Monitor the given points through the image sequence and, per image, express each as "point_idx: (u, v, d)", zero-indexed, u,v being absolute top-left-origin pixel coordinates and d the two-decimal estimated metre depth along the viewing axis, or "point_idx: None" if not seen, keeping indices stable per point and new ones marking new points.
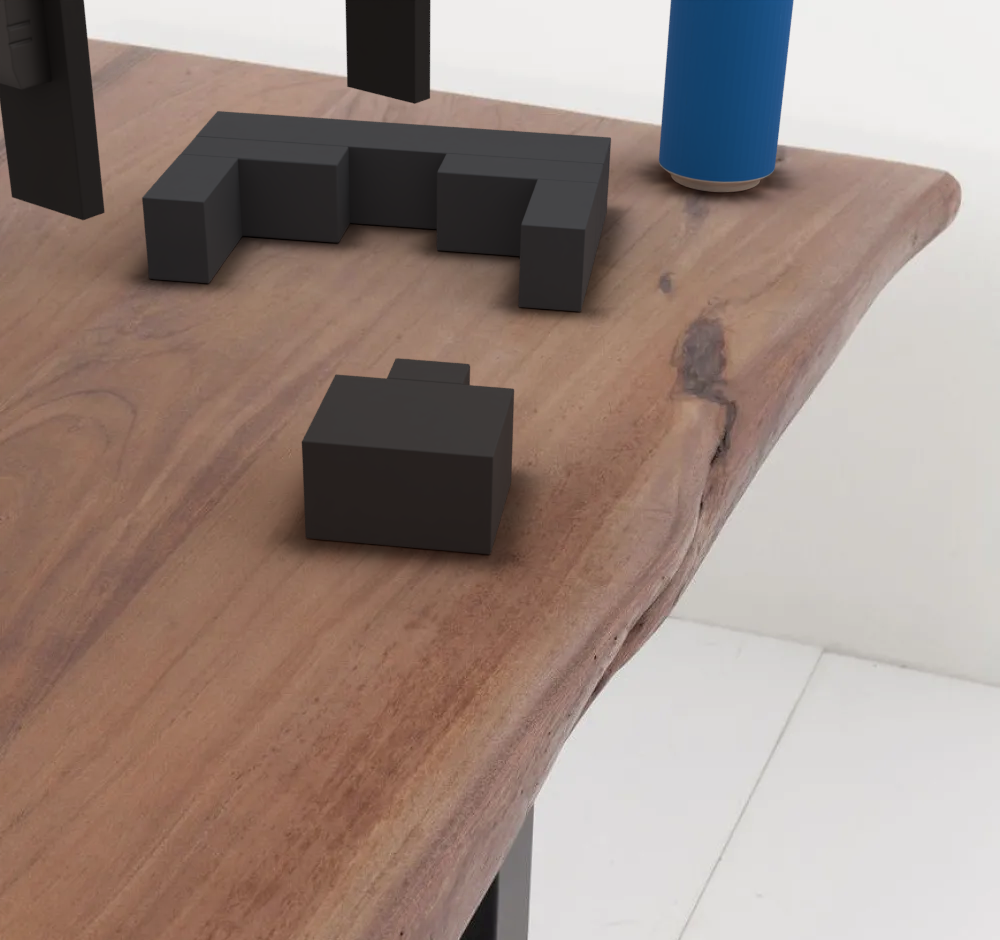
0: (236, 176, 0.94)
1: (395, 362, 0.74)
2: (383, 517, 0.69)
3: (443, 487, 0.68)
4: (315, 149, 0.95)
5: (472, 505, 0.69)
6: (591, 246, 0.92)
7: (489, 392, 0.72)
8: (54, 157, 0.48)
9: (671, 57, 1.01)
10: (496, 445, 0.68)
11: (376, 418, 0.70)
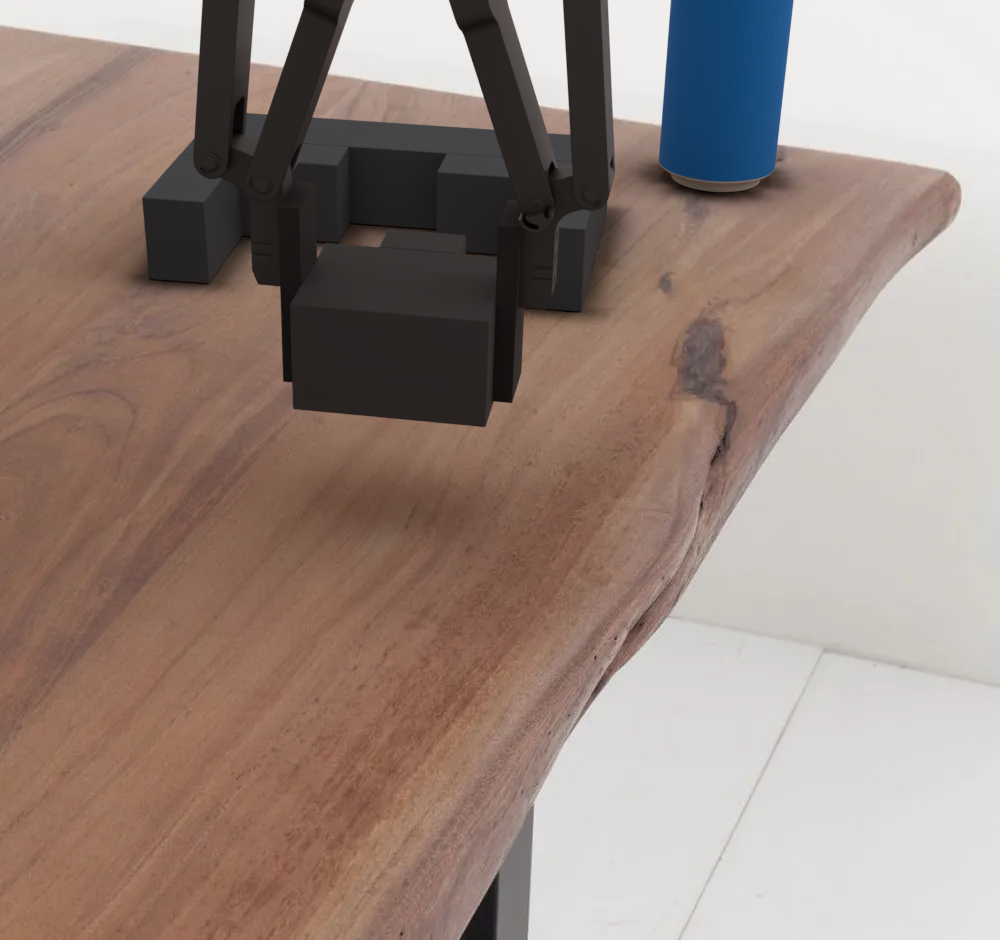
0: None
1: (388, 232, 0.71)
2: (374, 386, 0.67)
3: (437, 355, 0.66)
4: (315, 149, 0.95)
5: (466, 374, 0.66)
6: (591, 246, 0.92)
7: (485, 262, 0.69)
8: None
9: (671, 57, 1.01)
10: (492, 311, 0.65)
11: (367, 284, 0.67)
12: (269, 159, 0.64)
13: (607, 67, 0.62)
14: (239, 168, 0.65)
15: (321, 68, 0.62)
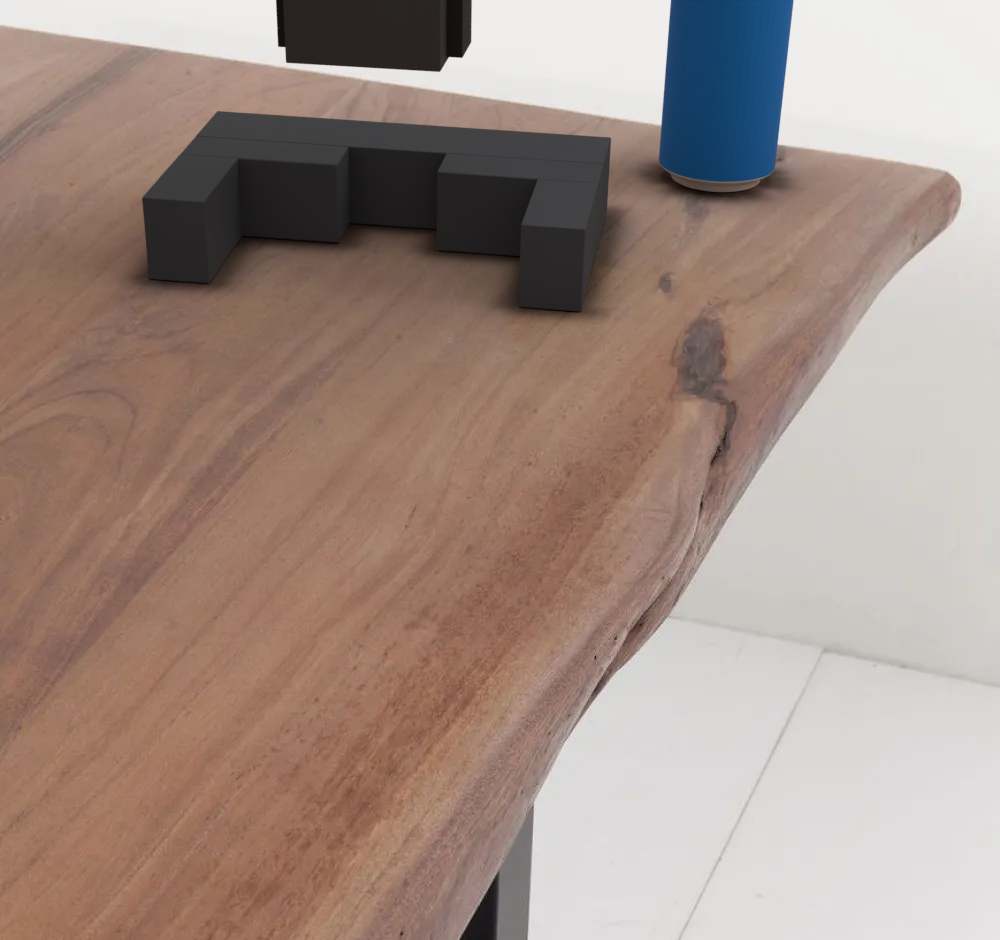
0: (236, 176, 0.94)
1: None
2: (350, 39, 0.83)
3: (399, 8, 0.82)
4: (315, 149, 0.95)
5: (423, 24, 0.82)
6: (591, 246, 0.92)
7: None
8: None
9: (671, 57, 1.01)
10: None
11: None
12: None
13: None
14: None
15: None
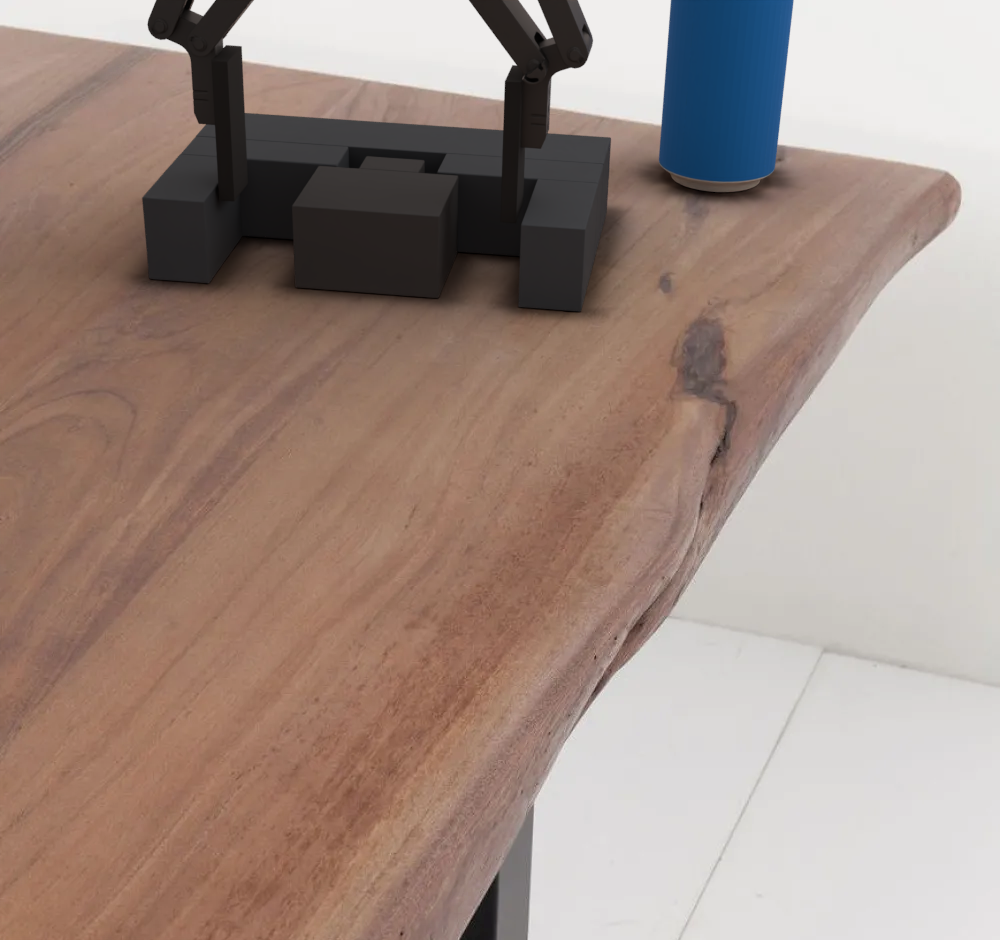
0: None
1: (366, 158, 0.94)
2: (355, 268, 0.90)
3: (401, 242, 0.89)
4: (315, 149, 0.95)
5: (423, 257, 0.89)
6: (591, 246, 0.92)
7: (438, 177, 0.92)
8: None
9: (671, 57, 1.01)
10: (442, 209, 0.88)
11: (349, 192, 0.90)
12: (210, 27, 0.86)
13: None
14: (182, 32, 0.87)
15: None
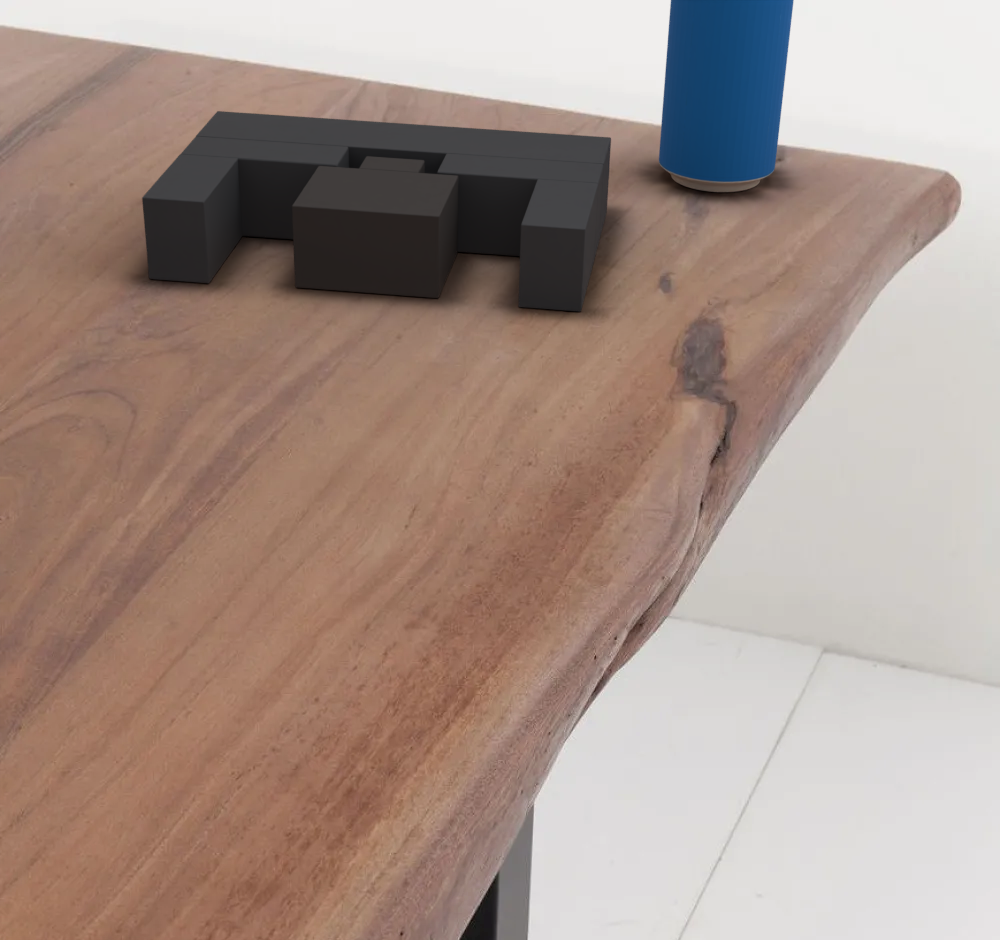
0: (236, 176, 0.94)
1: (366, 158, 0.94)
2: (355, 268, 0.90)
3: (401, 242, 0.89)
4: (315, 149, 0.95)
5: (423, 257, 0.89)
6: (591, 246, 0.92)
7: (438, 177, 0.92)
8: None
9: (671, 57, 1.01)
10: (442, 209, 0.88)
11: (349, 192, 0.90)
12: None
13: None
14: None
15: None
